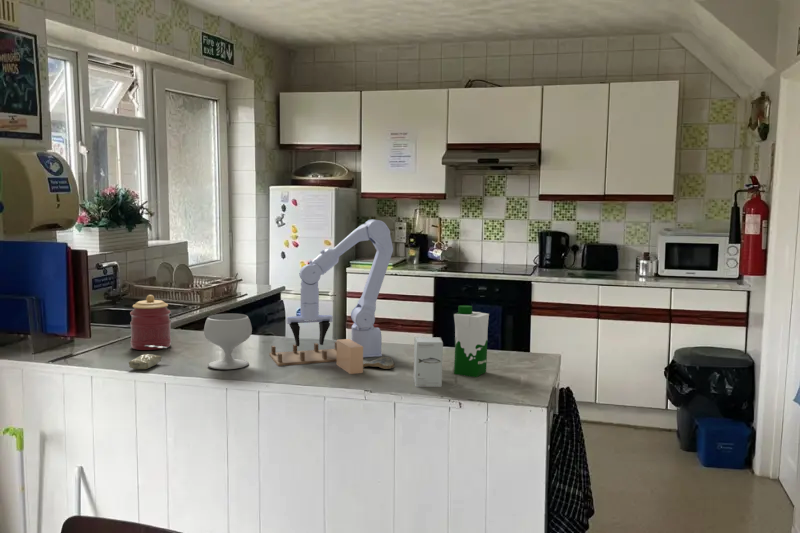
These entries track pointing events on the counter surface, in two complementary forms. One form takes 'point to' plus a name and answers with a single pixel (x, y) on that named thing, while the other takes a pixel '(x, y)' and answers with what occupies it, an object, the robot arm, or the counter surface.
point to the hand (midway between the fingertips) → (309, 345)
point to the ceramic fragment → (381, 363)
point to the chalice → (227, 337)
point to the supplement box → (428, 361)
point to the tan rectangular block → (350, 356)
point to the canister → (150, 324)
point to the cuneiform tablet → (145, 360)
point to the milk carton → (470, 342)
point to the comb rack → (303, 356)
